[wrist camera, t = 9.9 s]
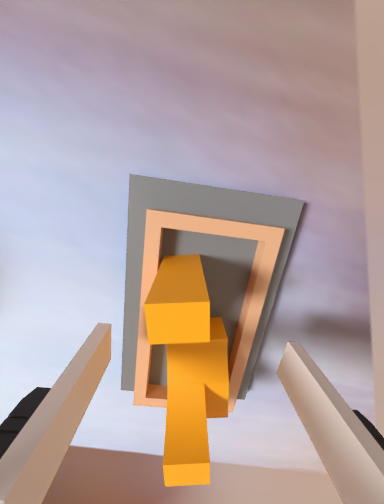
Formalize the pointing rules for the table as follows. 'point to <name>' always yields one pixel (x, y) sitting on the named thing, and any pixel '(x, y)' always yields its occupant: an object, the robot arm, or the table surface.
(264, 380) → the table surface
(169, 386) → the pipe clamp
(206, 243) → the holder board
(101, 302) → the table surface
